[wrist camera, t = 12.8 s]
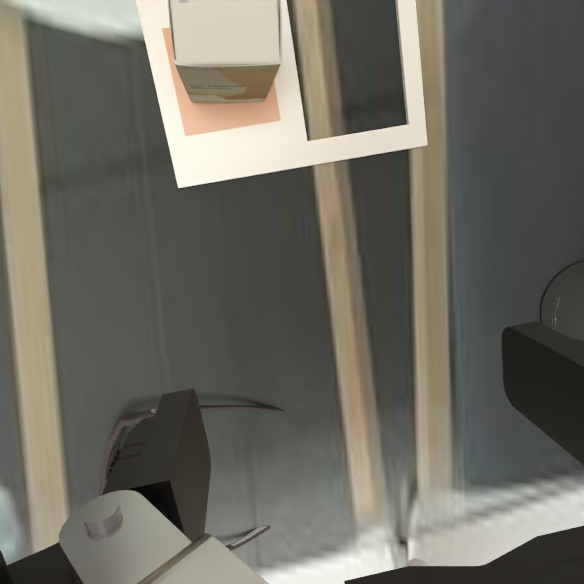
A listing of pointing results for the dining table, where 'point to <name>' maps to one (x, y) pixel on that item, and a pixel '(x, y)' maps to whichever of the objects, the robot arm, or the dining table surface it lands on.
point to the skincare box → (226, 48)
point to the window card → (268, 112)
